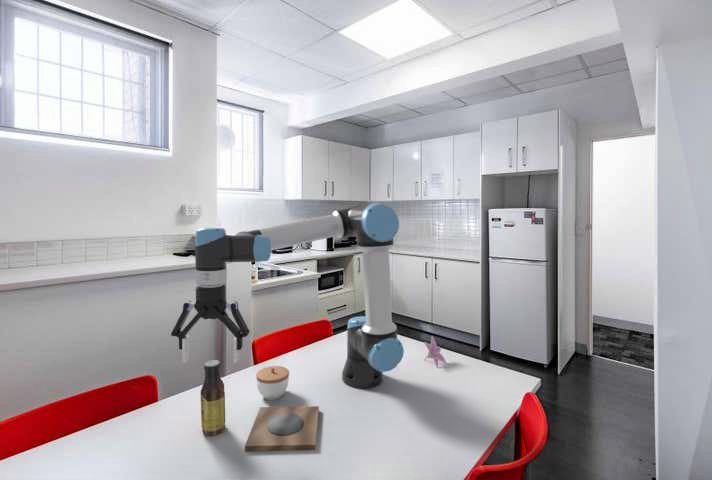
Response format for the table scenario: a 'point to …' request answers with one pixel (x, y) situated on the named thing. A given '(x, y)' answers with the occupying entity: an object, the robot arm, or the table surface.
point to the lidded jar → (272, 381)
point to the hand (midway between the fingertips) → (211, 360)
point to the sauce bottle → (212, 400)
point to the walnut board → (284, 429)
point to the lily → (434, 352)
